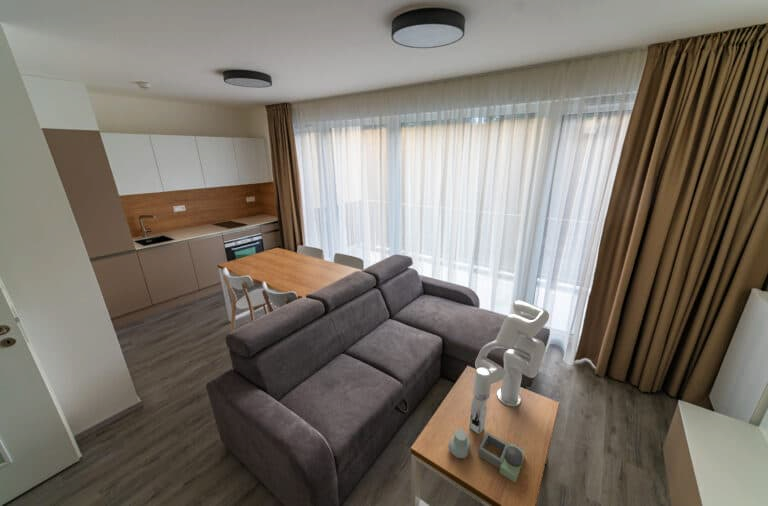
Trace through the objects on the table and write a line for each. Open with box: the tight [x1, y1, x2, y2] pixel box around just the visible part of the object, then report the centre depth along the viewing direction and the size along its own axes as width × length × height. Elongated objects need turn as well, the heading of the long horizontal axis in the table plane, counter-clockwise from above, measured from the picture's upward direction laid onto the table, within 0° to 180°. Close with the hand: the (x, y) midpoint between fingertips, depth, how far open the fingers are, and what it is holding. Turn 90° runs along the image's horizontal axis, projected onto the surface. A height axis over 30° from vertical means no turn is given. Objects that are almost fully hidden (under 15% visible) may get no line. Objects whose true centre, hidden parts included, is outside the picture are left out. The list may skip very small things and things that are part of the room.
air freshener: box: [448, 429, 472, 459], centre depth 135 cm, size 11×8×10 cm
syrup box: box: [468, 405, 488, 435], centre depth 145 cm, size 6×6×14 cm
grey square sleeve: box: [477, 431, 526, 484], centre depth 132 cm, size 14×17×7 cm
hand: (477, 419), depth 145 cm, fingers closed on syrup box, 6 cm apart
